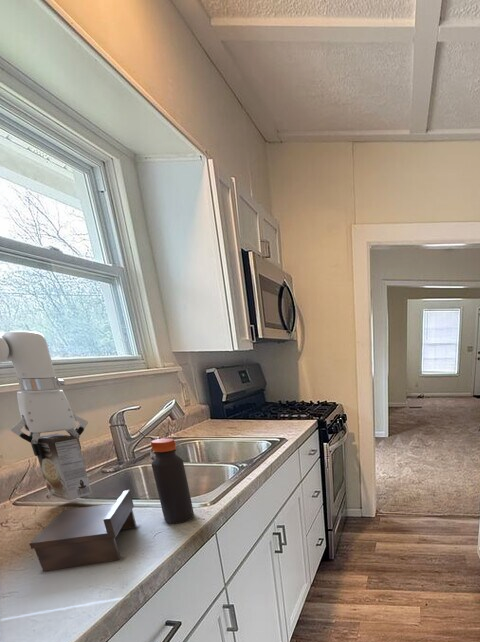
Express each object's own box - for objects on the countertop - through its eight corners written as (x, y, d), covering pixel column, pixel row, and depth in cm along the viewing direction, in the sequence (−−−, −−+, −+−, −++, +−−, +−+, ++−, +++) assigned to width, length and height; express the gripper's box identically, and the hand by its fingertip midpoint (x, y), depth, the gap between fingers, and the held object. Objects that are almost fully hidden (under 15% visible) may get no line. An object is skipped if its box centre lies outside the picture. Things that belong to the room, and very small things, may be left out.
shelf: (40, 571, 78) (23, 529, 74) (71, 534, 94) (58, 497, 90) (122, 559, 82) (110, 518, 79) (139, 525, 98) (129, 489, 94)
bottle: (181, 511, 106) (165, 436, 98) (200, 515, 103) (185, 438, 95) (158, 521, 100) (139, 442, 92) (177, 526, 97) (159, 445, 90)
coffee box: (47, 495, 109) (29, 437, 103) (72, 489, 115) (56, 433, 109) (69, 500, 106) (52, 440, 100) (93, 493, 111) (78, 436, 105)
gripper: (73, 383, 108) (90, 447, 115) (-12, 386, 95) (13, 459, 102) (85, 384, 104) (102, 451, 111) (-2, 388, 91) (23, 464, 98)
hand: (59, 454), depth 106 cm, fingers closed on coffee box, 7 cm apart
